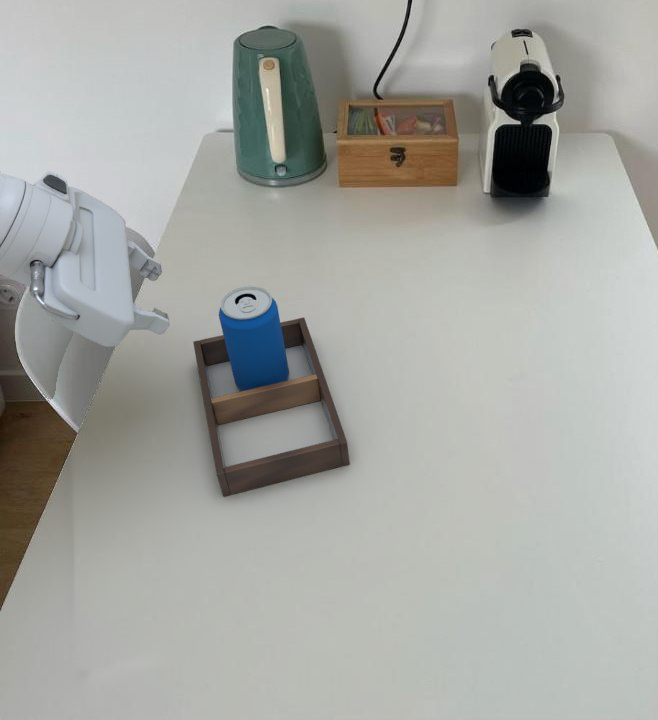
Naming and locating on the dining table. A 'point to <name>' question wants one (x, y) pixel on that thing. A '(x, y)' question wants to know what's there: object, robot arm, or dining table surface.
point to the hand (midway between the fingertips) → (162, 298)
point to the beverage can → (253, 337)
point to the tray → (266, 402)
